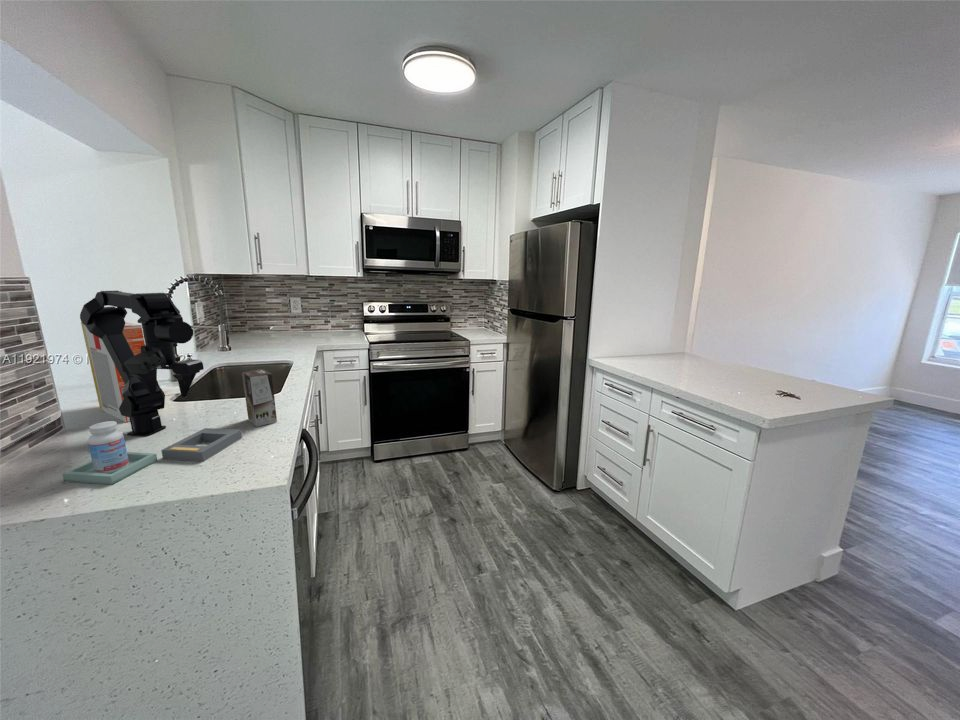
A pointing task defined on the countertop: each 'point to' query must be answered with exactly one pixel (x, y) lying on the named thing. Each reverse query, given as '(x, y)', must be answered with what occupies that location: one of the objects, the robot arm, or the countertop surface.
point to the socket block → (190, 452)
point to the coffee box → (259, 397)
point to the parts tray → (88, 475)
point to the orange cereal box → (110, 368)
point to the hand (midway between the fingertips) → (168, 395)
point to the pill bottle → (107, 448)
